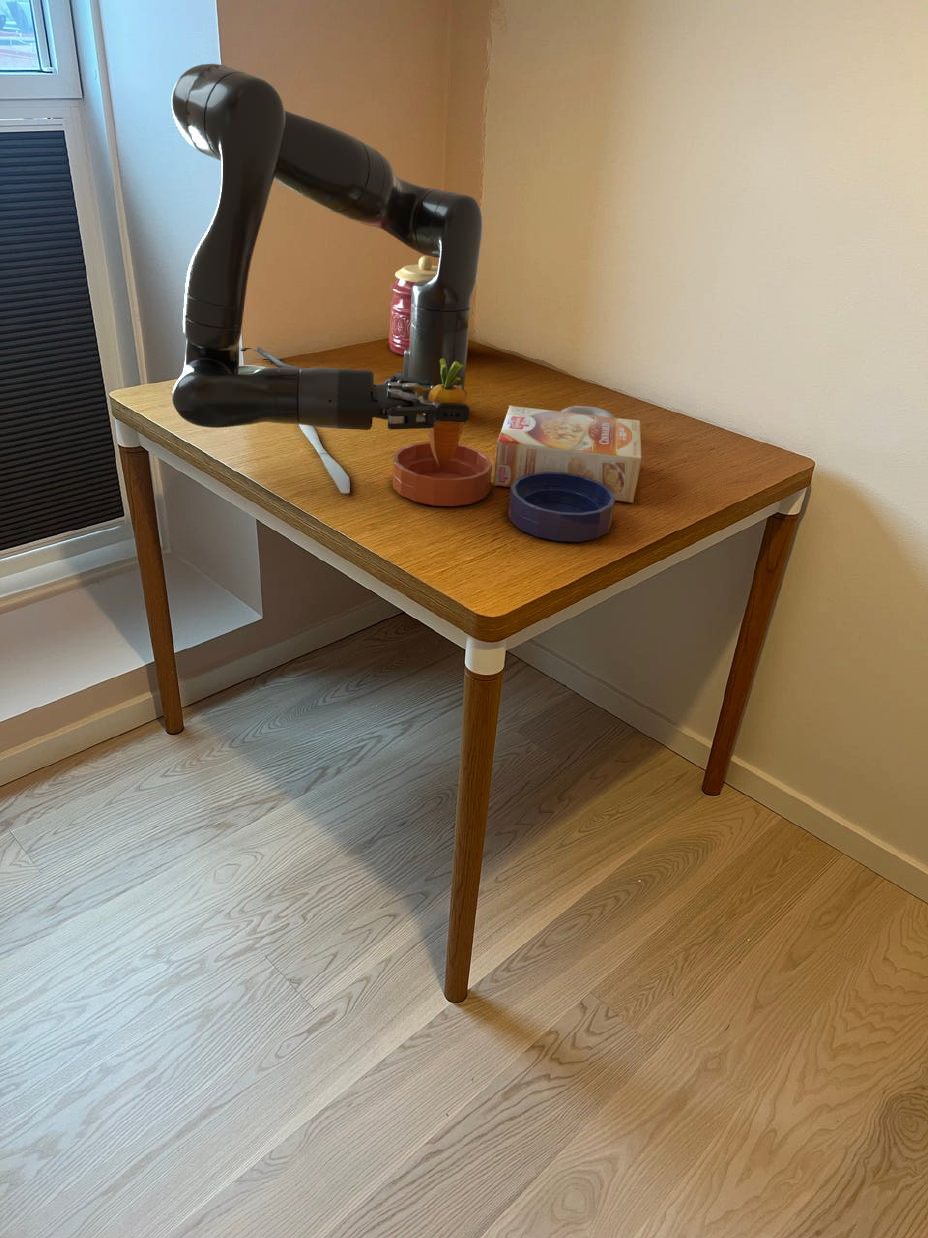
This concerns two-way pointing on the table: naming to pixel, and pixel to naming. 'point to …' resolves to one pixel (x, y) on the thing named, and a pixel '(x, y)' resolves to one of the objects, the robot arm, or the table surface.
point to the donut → (588, 411)
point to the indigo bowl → (561, 506)
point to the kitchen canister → (406, 301)
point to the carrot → (446, 432)
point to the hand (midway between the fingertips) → (466, 405)
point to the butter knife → (328, 460)
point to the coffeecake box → (569, 448)
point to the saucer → (248, 369)
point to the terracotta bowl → (441, 475)
